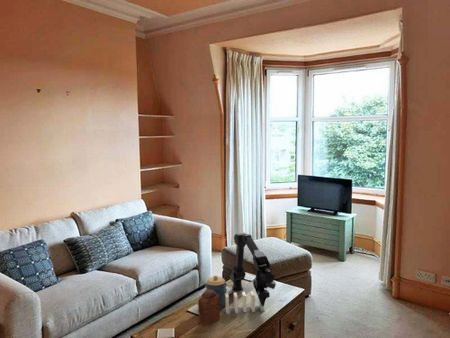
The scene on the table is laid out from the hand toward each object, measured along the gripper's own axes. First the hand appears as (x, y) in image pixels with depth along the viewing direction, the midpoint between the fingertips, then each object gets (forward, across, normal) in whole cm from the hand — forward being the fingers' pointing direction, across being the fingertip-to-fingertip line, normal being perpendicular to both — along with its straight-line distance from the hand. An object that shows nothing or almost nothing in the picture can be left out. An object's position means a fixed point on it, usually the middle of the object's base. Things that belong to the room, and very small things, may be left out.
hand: (261, 302), depth 201 cm
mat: (+4, 0, +11) cm, 12 cm away
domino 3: (+4, 0, +10) cm, 11 cm away
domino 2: (+4, 0, +15) cm, 16 cm away
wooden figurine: (+5, -9, +31) cm, 33 cm away
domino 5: (+4, 0, 0) cm, 4 cm away
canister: (+5, +11, +26) cm, 28 cm away
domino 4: (+4, 0, +5) cm, 6 cm away
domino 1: (+4, 0, +20) cm, 20 cm away
